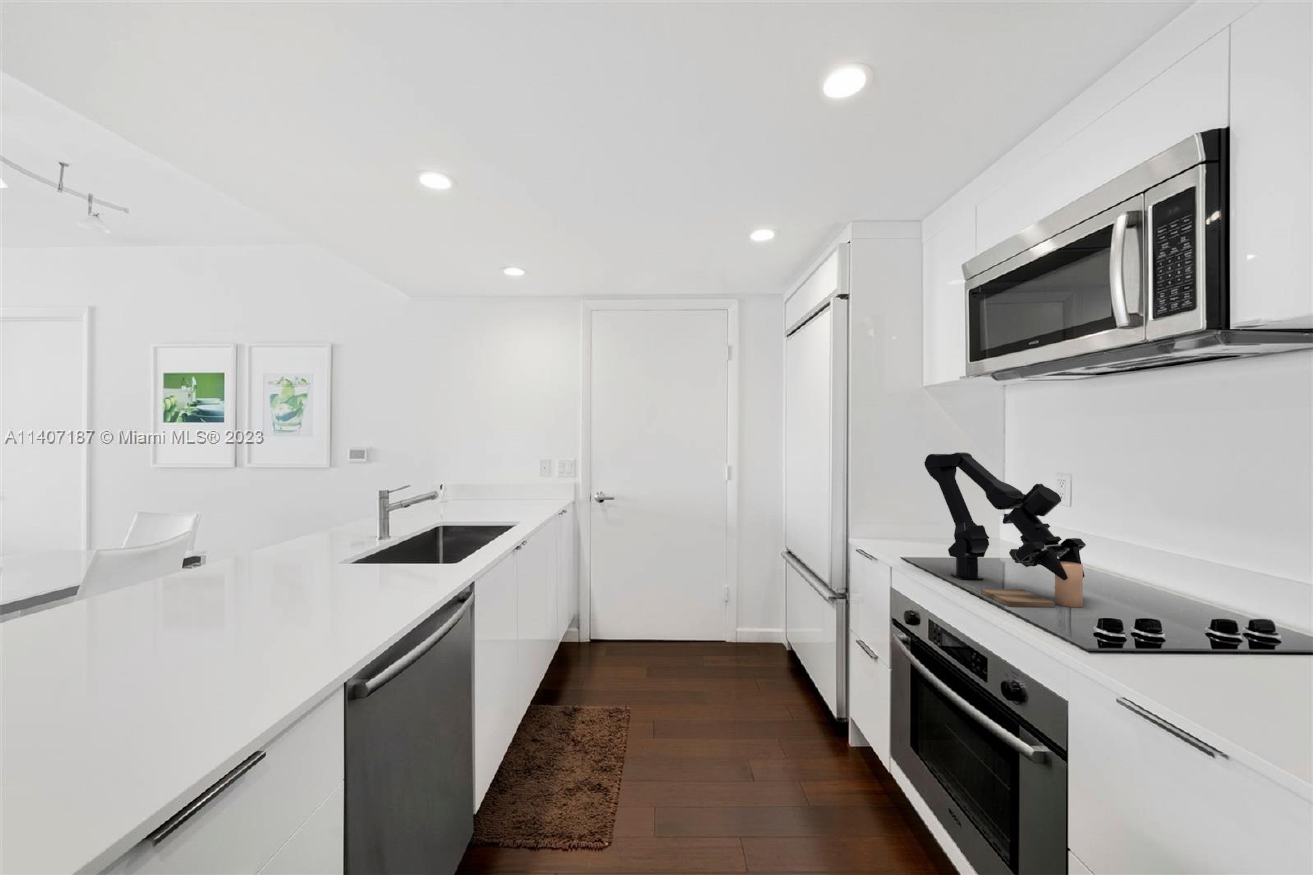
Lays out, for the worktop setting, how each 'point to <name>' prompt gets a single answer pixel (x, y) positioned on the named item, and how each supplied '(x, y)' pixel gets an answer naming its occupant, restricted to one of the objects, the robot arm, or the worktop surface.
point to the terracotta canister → (1070, 585)
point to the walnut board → (1017, 598)
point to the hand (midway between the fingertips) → (1074, 578)
